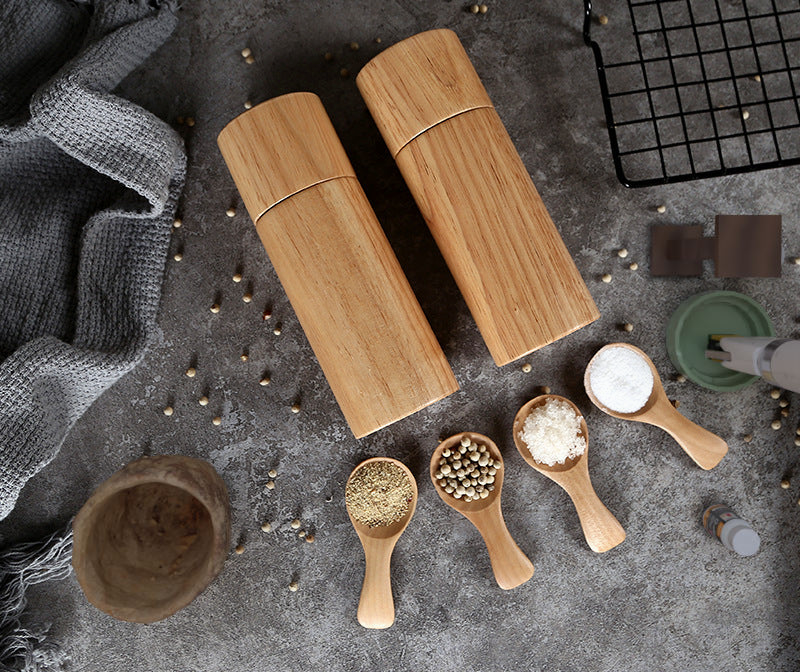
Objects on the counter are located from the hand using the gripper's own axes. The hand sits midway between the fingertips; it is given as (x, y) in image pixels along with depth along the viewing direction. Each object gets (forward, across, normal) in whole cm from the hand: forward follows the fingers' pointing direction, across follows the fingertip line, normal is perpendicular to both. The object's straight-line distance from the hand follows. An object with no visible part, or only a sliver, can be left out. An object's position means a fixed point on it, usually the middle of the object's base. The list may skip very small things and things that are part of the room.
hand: (725, 347), depth 114 cm
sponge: (+2, 0, 0) cm, 2 cm away
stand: (+2, +8, -18) cm, 19 cm away
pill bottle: (+2, 0, +32) cm, 32 cm away
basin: (+2, +1, -1) cm, 3 cm away
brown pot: (+3, +95, +26) cm, 99 cm away
